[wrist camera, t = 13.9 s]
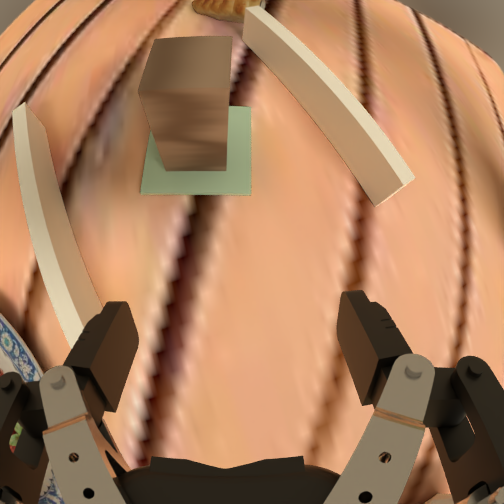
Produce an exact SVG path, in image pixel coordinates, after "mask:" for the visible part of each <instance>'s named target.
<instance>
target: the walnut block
mask: <svg viewBox="0 0 504 504" xmlns="http://www.w3.org/2000/svg"><path fill="white" fill-rule="evenodd" d="M231 53H232V36H197V37H176V38H163V39H155V40H154V43H153V46H152V48H151V51H150V54H149V57H148V60H147V63H146V66H145V69H144V73H143V76H142V79H141V82H140V86H139V89H138V93H139V96H140V99H141V102H142V105H143V108H144V111H145V114H146V117H147V120H148V123H149V126H150V129H151V131H152V134H153V137H154V140H155V143H156V146H157V148H158V151H159V154H160V157H161V159H162V162H163V165H164V168H165V170H166V171H226V168H227V139H228V114H229V91H230V71H231Z"/></svg>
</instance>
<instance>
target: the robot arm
mask: <svg viewBox="0 0 504 504" xmlns="http://www.w3.org/2000/svg"><path fill="white" fill-rule="evenodd" d="M337 337H338V341H339V344H340V346H341V349H342V352H343V354H344V357H345V360H346V362H347V365H348V368H349V371H350V373H351V376H352V379H353V382H354V384H355V387H356V390H357V393H358V396H359V399H360V402H361V404H362V406H365V405H370V404H373V407H374V409H375V411H374V413H373V415H372V417H371V419H370V421H369V423H368V426H367V428H366V430H365V432H364V434H363V436H362V438H361V440H360V442H359V444H358V446H357V447H356V449H355V451H354V453H353V455H352V457H351V459H350V460H349V462H348V464H347V466H346V467H345V469H344V471H343V473H342V474H341V475H339V474H337V473H335V472H333V471H331V470H328V469H325V468H322V467H318V466H313V465H304V459H303V456H298V457H288V458H277V459H265V460H261V461H257V462H254V463H250V464H246V465H242V466H238V467H233V468H228V469H222V468H217V467H213V466H209V465H205V464H201V463H198V462H194V461H190V460H187V459H173V458H162V457H153V456H152V457H151V463H150V465H148V466H143V467H139V468H136V469H133V470H131V469H130V467H129V466H128V464H127V463H126V462H125V460H124V459H123V457H122V455H121V453H120V451H119V449H118V447H117V445H116V443H115V441H114V439H113V437H112V435H111V433H110V431H109V429H108V427H107V425H106V423H105V421H104V419H103V418H102V417H103V414H104V411H108V412H115V413H116V410H117V407H118V404H119V401H120V398H121V395H122V392H123V389H124V386H125V383H126V380H127V377H128V374H129V371H130V368H131V366H132V363H133V360H134V357H135V354H136V352H137V349H138V344H139V337H138V332H137V329H136V326H135V323H134V320H133V317H132V314H131V310H130V307H129V305H128V303H127V302H126V301H109V302H107V303H106V304H105V306H104V308H103V309H102V311H101V313H100V314H96V315H95V316H94V317H93V318H92V319H90V320H89V321H88V322H87V324H86V325H85V327H84V329H83V331H82V333H81V334H80V336H79V337H78V340H77V341H76V342H75V344H74V346H73V348H72V349H71V351H70V353H69V355H68V357H67V358H66V360H65V362H64V364H63V366H56V367H53V368H51V369H49V370H48V371H46V372H45V373H44V374H43V376H42V377H41V380H40V381H32V382H25V381H24V380H23V378H22V377H21V376H20V374H19V373H17V372H13V371H12V372H7V373H5V374H3V375H2V376H0V504H38V502H39V498H40V493H41V489H42V485H43V481H44V477H45V474H46V470H47V466H48V463H49V461H50V464H51V467H52V470H53V473H54V476H55V479H56V482H57V485H58V488H59V490H60V493H61V496H62V498H63V501H64V503H65V504H397V503H398V501H399V499H400V497H401V495H402V492H403V490H404V488H405V485H406V483H407V480H408V478H409V475H410V473H411V470H412V468H413V465H414V462H415V459H416V457H417V454H418V451H419V448H420V445H421V442H422V439H423V436H424V432H425V427H429V429H430V432H431V435H432V437H433V440H434V443H435V446H436V448H437V451H438V454H439V457H440V460H441V463H442V466H443V469H444V472H445V475H446V478H447V482H448V485H449V488H450V492H451V495H452V499H453V502H454V504H504V390H503V388H502V386H501V385H500V383H499V382H498V380H497V378H496V377H495V375H494V373H493V372H492V370H491V369H490V367H489V366H488V364H487V363H486V362H485V361H483V360H482V359H480V358H478V357H475V356H466V357H463V358H461V359H460V360H459V361H458V363H457V365H456V367H455V368H437V367H434V366H433V365H432V363H431V362H430V361H429V360H428V359H427V358H425V357H423V356H421V355H418V354H413V352H412V351H411V349H410V347H409V346H408V344H407V342H406V341H405V339H404V337H403V336H402V334H401V332H400V331H399V329H398V328H396V324H395V323H394V321H393V320H392V318H391V316H390V315H389V313H388V312H387V310H386V309H385V308H384V307H382V306H381V305H380V304H378V303H377V302H370V301H369V299H368V298H367V296H366V294H365V293H364V291H363V290H355V291H345V292H342V294H341V298H340V306H339V313H338V319H337ZM466 415H467V417H468V419H469V421H470V423H471V425H470V423H469V421H468V419H467V417H466ZM17 422H18V423H19V425H20V426H21V427H22V428H23V429H22V431H21V434H20V436H19V439H18V442H17V444H16V447H15V450H14V453H12V451H11V449H10V444H9V443H10V438H11V436H12V433H13V431H14V428H15V426H16V423H17ZM471 426H472V428H473V430H474V432H473V430H472V428H471ZM474 433H475V434H474Z"/></svg>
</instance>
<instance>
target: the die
mask: <svg viewBox="0 0 504 504" xmlns="http://www.w3.org/2000/svg"><path fill="white" fill-rule="evenodd" d="M423 504H454V502H453V499H452V495H451V494H439V493H438V494H436V495H435V496H433V497H432V498H431V499H429V500H428V501H426V502H425V503H423Z"/></svg>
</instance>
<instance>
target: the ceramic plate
mask: <svg viewBox="0 0 504 504" xmlns="http://www.w3.org/2000/svg"><path fill="white" fill-rule="evenodd" d="M12 371H13V372H17V373H19V374H20V376H21V377H22V378H23V380H24V381H25V382H32V381H40V380H41V377H42V376H43V374H44V373H43V371H42V369H41V368H40V366H39V364H38V362H37V361H36V359H35V357H34V356H33V354H32V353H31V351H30V349H29V348H28V347H27V345H26V344H25V342H24V341H23V339H22V338H21V336H20V335H19V334H18V333H17V331H16V330H15V329H14V327H13V326H12V325H11V324H10V323H9V322H8V321H7V320H6V318H5V317H4V316H3V315H2V314H1V313H0V376H2V375H3V374H5V373H7V372H12ZM22 429H23V428H22V427H21V426H20V425H19V423H18V422H17V423H16V426H15V428H14V431H13V433H12V436H11V438H10V443H9V444H10V449H11V451H12V453H14V450H15V447H16V444H17V442H18V439H19V436H20V434H21V431H22ZM38 504H65V503H64V501H63V498H62V496H61V493H60V490H59V488H58V485H57V482H56V479H55V476H54V473H53V470H52V467H51V464H50V461H49V463H48V466H47V470H46V474H45V477H44V481H43V485H42V489H41V493H40V498H39V502H38Z"/></svg>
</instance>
